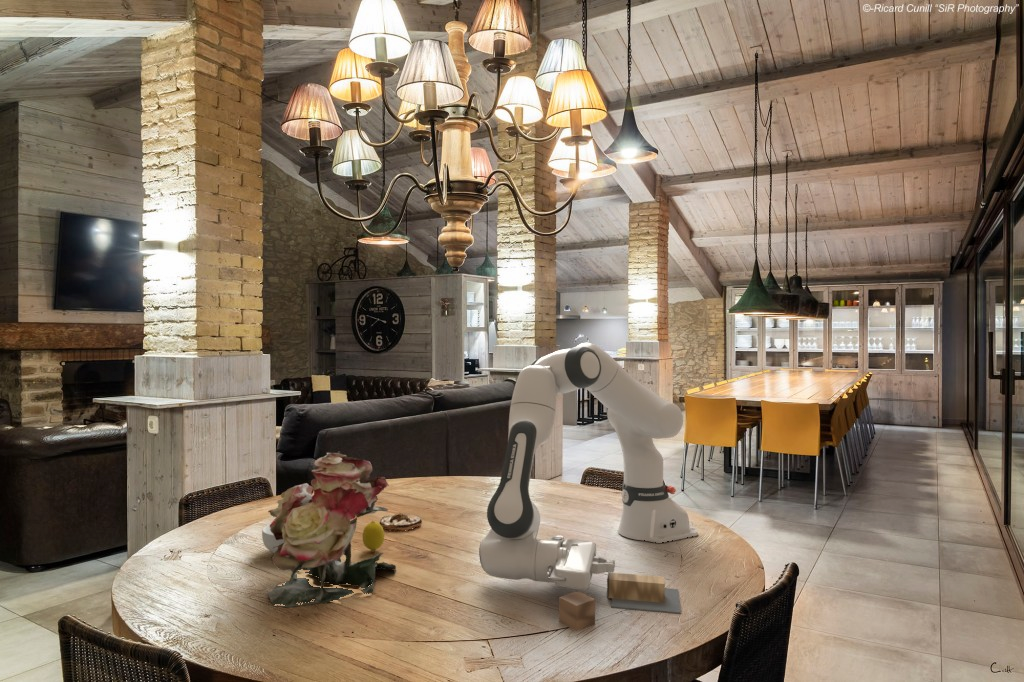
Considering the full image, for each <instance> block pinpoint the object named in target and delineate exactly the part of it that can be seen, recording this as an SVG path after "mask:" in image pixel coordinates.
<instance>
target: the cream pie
mask: <svg viewBox="0 0 1024 682" xmlns="http://www.w3.org/2000/svg"><path fill="white" fill-rule="evenodd" d="M422 523H423V520H422V519H421V517H420V516H418V515H417V514H415V513H410V512H409V513H402V512H398V513H395V514H391V515H390V514H388V515H386V516H384V515H383V516H382V517H381V518H380V520H379V524H380V525H381V526H382V527H383V528H384V529H387V530H391V531H390V532H398V531H399V532H400V531H402V532H406V531H405V530H409V529H412V528H415V527H418V526H419V527H421V525H422ZM419 527H418V528H419ZM384 529H383V530H384ZM387 530H386V531H387ZM412 530H413V529H412ZM409 531H410V530H409Z"/></svg>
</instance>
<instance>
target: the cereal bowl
mask: <svg viewBox="0 0 1024 682" xmlns="http://www.w3.org/2000/svg"><path fill="white" fill-rule="evenodd" d="M270 524H271V523H270ZM270 524H268V525H265V526H264V527H263V528H262V529H261V537H262V542H263V545H264V547H265V548H266V549H267V550H268V551H269V552H271V553H273V554H274V553H275V551H277V549H278V547H275V546H279V545H281V544H282V543H284V541H285V540H284V539H282V540H276V538H275V536H274V534H273V533H272V532H271V531H270ZM273 547H275V548H273ZM286 557H290V556H289V555H287V556H286Z"/></svg>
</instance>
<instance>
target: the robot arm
mask: <svg viewBox="0 0 1024 682" xmlns="http://www.w3.org/2000/svg"><path fill="white" fill-rule="evenodd" d="M514 385H515V386H514V388H513V392H512V397H511V402H510V407H509V414H508V415H509V416H508V417H509V418H508V435H507V436H508V437H507V444H506V450H505V455H504V456H505V457H504V460H503V465H502V471H501V472H502V473H501V477H500V481H499V484H498V486H497V488H496V491H495V492H494V494H492V497H491V499H490V500H489V503H488V506H487V509H486V518H487V522H488V525H489V526H490V530H489V531H488V533H487V534H486V535H485V536H484V537H483V538H482V539H481V540H480V544H479V548H478V553H479V554H478V556H479V563H480V564H481V568H482V570H483V571H484V572H485V574H487V575H489V576H491V577H495V578H499V579H504V580H506V579H507V580H514V581H515V580H517V581H519V580H526V579H527V580H531V581H533V582H541V583H552V584H555V585H556V586H559V587H563V588H568V589H576V590H588V589H589V588H590V585H591V582H592V577H593V575H594V574H595V575H599V574H604V573H608V572H610V573H615V568H616V561H615V559H612V558H611V559H609V558H606V557H603V556H599V555H597V543H596V542H593V541H590V540H584V539H578V538H576V539H575V538H565V537H564V536H562V535H554V536H553V537H552V538H549V539H537V537H538V533H539V528H540V526H541V514H540V510H539V509H538V507H537V506H536V504H535V503H534V502H533V501H532V500H531V497H530V492H529V491H530V489H529V487H530V483H531V482H530V481H531V476H532V475H531V474H532V469H533V463H534V458H535V453H536V452H537V450H538V448H539V447H540V446H541V445H544V444H545V443H546V442H547V441H548V440H549V439H550V436H551V434H552V431H553V427H554V423H555V417H556V409H557V408H556V406H557V397H558V395H564V394H569V393H571V392H574V391H577V390H580V389H586V390H587V391H588V392H589V393H590V394H591V395H592V396H594V398H595V399H597V400H598V401H599V402H600V403H601V404H602V405H603V406H604V407H605V408H607V410H606V417H607V420H608V422H609V424H610V425H611V426H612V428H613V429H614V430H615V433H616V435H617V437H618V440H619V443H620V447H621V452H622V459H623V482H622V487H621V488H622V489H621V491H622V493H621V497H622V509H621V510H622V511H621V517H620V523H619V527H618V530H617V532H618V534H619V535H621V536H623V537H624V538H628V539H631V540H632V539H633V540H638V541H644V540H645V542H652V543H655V542H656V543H657V544H663V543H662V542H664V543H668V542H667V541H669V542H673V541H678V540H682V539H683V540H684V539H687V537H688V538H692V536H693V537H696V536H699V533H698V532H699V531H698V530H697V528H695V527H694V526H692V525H691V524H690V519H689V515H688V513H687V511H686V509H684V508H683V507H682V506H681V505H680V504H678V503H677V502H676V501H675V500H673V499H672V498H671V497H670V495H669V494H671V495H674V494H676V492H677V490H676V487H674V486H672V485H667V484H665V483H664V459H663V458H664V457H663V455H662V454H661V452H660V451H659V450H658V448H657V447H656V445H655V443H654V440H653V439H656V440H657V439H670V438H674V437H676V436H677V435H678V434H679V433H680V432H681V430H682V427H683V424H684V416H683V412H682V410H681V408H680V407H679V405H677V404H676V403H673V402H671V401H669V400H667V399H665V398H663V397H662V396H660V395H659V394H657V393H656V392H655V391H653V390H651V389H650V388H648V387H647V386H645V385H644V384H642V383H640V381H638V380H636V379H635V378H634V377H633V376H631V375H630V373H629V372H627V370H625V369H624V368H623V367H622V366H621V364H620V363H618V362H617V361H616V360H615V359H614V358H613V357H612V356H611V355H610V354H609V353H607V352H606V351H605V350H603V349H602V348H600V347H599V346H597V345H596V344H595V343H591V342H582V343H580V344H578V345H577V346H573V347H571V348H565V349H560V350H556V351H554V352H552V353H549V354H546V355H544V356H541V357H538V358H536V359H534V360H533V361H532V362H531V363H530V364H529V365H528V366H526V367H524V368H523V369H522V370H520V372H519V374H518V377H517V379H516V382H515V384H514ZM672 540H673V541H672Z"/></svg>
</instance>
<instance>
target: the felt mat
mask: <svg viewBox="0 0 1024 682" xmlns="http://www.w3.org/2000/svg"><path fill="white" fill-rule="evenodd" d="M679 596H680V595H679V589H678V588H668V587H665V603H660V602H649V601H638V600H626V599H615V598H611V603H610V605H611V606H610V608H614V609H623V610H624V609H625V610H634V611H645V612H658V613H659V612H660V613H668V614H676V615H677V614H679V615H681V614H682V613H681V612H682V611H681V605H680V597H679Z"/></svg>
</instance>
